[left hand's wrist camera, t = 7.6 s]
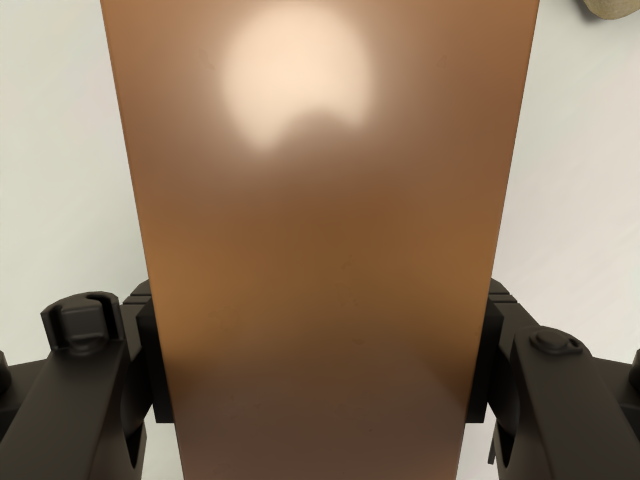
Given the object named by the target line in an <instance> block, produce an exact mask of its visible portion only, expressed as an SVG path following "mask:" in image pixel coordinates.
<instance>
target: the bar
mask: <svg viewBox="0 0 640 480" xmlns="http://www.w3.org/2000/svg"><path fill="white" fill-rule="evenodd" d="M539 1H540V0H100V3H101V8H102V14H103V20H104V26H105V31H106V37H107V43H108V48H109V54H110V60H111V66H112V71H113V77H114V83H115V88H116V94H117V100H118V105H119V111H120V117H121V123H122V128H123V134H124V140H125V145H126V151H127V157H128V163H129V168H130V174H131V180H132V185H133V191H134V197H135V202H136V208H137V214H138V220H139V225H140V231H141V237H142V242H143V248H144V254H145V260H146V265H147V271H148V277H149V282H150V288H151V294H152V299H153V305H154V311H155V317H156V322H157V328H158V334H159V339H160V345H161V351H162V357H163V362H164V368H165V374H166V379H167V385H168V391H169V396H170V402H171V408H172V414H173V419H174V425H175V431H176V436H177V442H178V448H179V454H180V459H181V465H182V471H183V476H184V480H456V475H457V469H458V463H459V458H460V452H461V446H462V441H463V435H464V429H465V423H466V418H467V412H468V406H469V401H470V395H471V389H472V384H473V378H474V372H475V366H476V361H477V355H478V349H479V344H480V338H481V332H482V326H483V321H484V315H485V309H486V304H487V298H488V292H489V287H490V281H491V275H492V269H493V264H494V258H495V252H496V247H497V241H498V235H499V229H500V224H501V218H502V212H503V207H504V201H505V195H506V189H507V184H508V178H509V172H510V167H511V161H512V155H513V150H514V144H515V138H516V132H517V127H518V121H519V115H520V110H521V104H522V98H523V92H524V87H525V81H526V75H527V70H528V64H529V58H530V53H531V47H532V41H533V35H534V30H535V24H536V18H537V13H538V7H539Z"/></svg>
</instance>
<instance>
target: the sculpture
mask: <svg viewBox="0 0 640 480" xmlns="http://www.w3.org/2000/svg"><path fill="white" fill-rule="evenodd" d="M583 1H584V2H585V4H586V5H587V7H588V9H589V10H590V11H591V12H592V13H594V14H595V15H597V16H598V17H600V18H602V19H608V20H614V19H618V18H622V17H625V16H627V15H629V14H631V13H633V12H635V11H637V10H638V9H640V0H583Z"/></svg>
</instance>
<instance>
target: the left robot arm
mask: <svg viewBox="0 0 640 480" xmlns="http://www.w3.org/2000/svg"><path fill="white" fill-rule="evenodd" d="M40 314H41V318H42V321H43V324H44V328H45V331H46V334H47V338H48V341H49V345H50V348H51V352H50V354H49V356H48V357H47V359H44V360H39V361H34V362H29V363H23V364H18V365H13V366H8V365H7V362H6V359H5V356H4V353H3V352H2V351H0V480H141V476H142V469H143V461H144V454H145V447H146V440H147V435H146V428H145V423H144V418H145V416H146V414H147V412H148V410H149V409H150V407H151V405H152V404H153V409H154V414H155V419H156V423H174V419H173V414H172V408H171V402H170V396H169V391H168V385H167V379H166V374H165V368H164V362H163V357H162V351H161V345H160V339H159V334H158V328H157V322H156V317H155V311H154V305H153V299H152V294H151V288H150V282H149V279H148V280H146V281H145V282H143V283H141V284H139V285H138V286H137V288H136V289H135V290H134V291H133V292H132V293H131V294H130V296H128V297H127V298H126V300H125V301H124V302H123V305H119V300H118V297H117V296H115V295H114V294H112V293H108V292H103V291H99V292H86V293H81V294H76V295H72V296H69V297H66V298H64V299H61V300H59V301H57V302H55V303H53V304H51V305H49V306H48V307H47V308H46V309H44V310H43V311H42V312H41V313H40ZM487 403H489V405H490V407H491V409H492V411H493V413H494V415H495V416H496V418H497V419H496V423H495V428H494V433H493V438H492V442H491V447H490V452H489V457H488V464H492V465H493V463H494V459H495V456H496V460H497V468H498V475H499V480H640V349H639V350H637V352H636V355H635V358H634V361H633V364H627V363H621V362H616V361H611V360H605V359H600V358H595V357H592V355H591V353H590V351H589V350H588V348H587V347H586V346H585V345H584V344H583V343H582V342H581V341H580V340H578V339H576V338H575V337H573V336H572V335H570V334H568V333H565V332H563V331H560V330H558V329H554V328H550V327H546V326H540V325H539V324H538V323H537V322H536V321H535V320H534V319H533V317H532V316H531V315H530V314H529V313H528V312H527V311H526V310H525V309H524V308H523V307H522V306H521V305H520V303H517V300H516V299H515V298H514V297H513V296H512V295H510V293H509V292H508V291H507V289H506V288H505V287H504V286H503V285H502V284H501V283H500V282H498V281H496V280H494V279H492V278H491V281H490V287H489V292H488V298H487V304H486V309H485V315H484V321H483V326H482V332H481V338H480V344H479V349H478V355H477V361H476V366H475V372H474V378H473V384H472V389H471V395H470V401H469V406H468V412H467V418H466V423H484V418H485V413H486V408H487Z"/></svg>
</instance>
